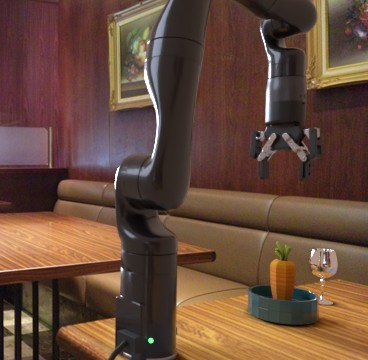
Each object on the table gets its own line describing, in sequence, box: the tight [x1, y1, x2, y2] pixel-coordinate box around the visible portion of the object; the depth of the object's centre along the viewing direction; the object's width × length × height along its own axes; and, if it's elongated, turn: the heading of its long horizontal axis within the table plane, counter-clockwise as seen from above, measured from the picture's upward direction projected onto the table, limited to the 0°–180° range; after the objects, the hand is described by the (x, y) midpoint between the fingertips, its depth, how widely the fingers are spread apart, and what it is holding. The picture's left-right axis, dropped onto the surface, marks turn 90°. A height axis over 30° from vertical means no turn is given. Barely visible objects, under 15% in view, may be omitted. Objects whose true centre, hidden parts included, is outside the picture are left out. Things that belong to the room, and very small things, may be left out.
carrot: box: [269, 241, 297, 301], centre depth 102 cm, size 5×5×15 cm
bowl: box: [247, 284, 320, 326], centre depth 103 cm, size 13×13×5 cm
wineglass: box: [308, 247, 339, 306], centre depth 113 cm, size 6×6×12 cm
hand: (283, 179), depth 102 cm, fingers open, 8 cm apart
